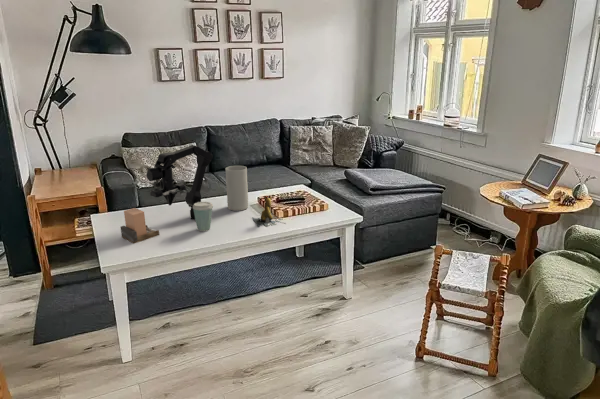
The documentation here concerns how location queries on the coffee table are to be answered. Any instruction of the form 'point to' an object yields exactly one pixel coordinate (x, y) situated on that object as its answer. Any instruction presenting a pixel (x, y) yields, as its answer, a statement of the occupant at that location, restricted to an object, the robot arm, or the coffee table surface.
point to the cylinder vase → (237, 188)
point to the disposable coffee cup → (203, 215)
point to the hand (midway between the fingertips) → (169, 205)
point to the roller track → (140, 238)
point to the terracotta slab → (135, 220)
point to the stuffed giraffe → (266, 214)
